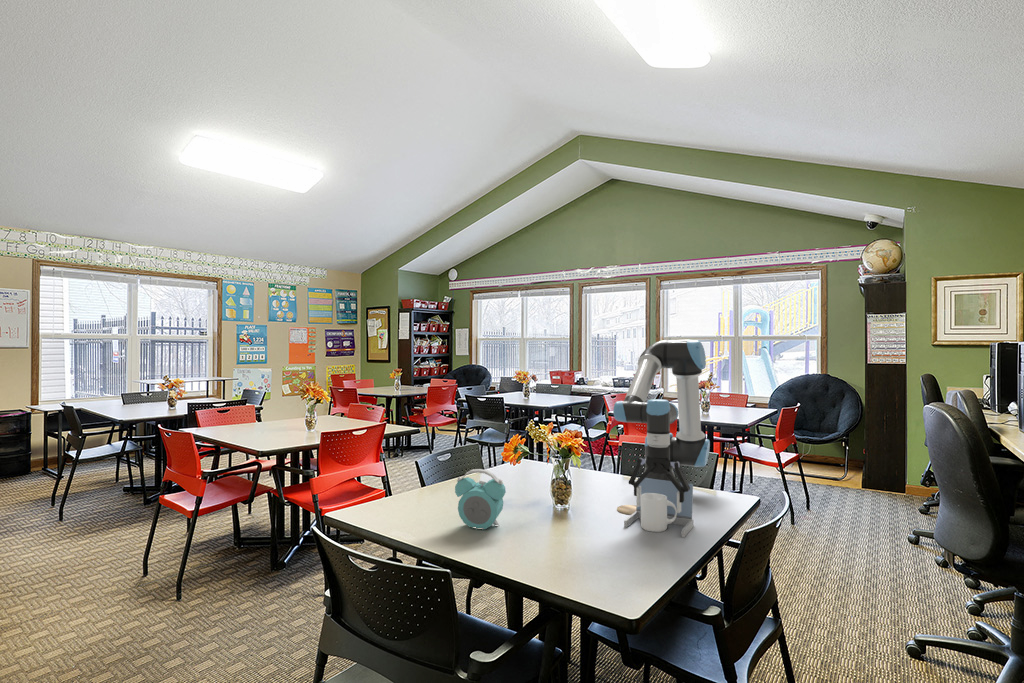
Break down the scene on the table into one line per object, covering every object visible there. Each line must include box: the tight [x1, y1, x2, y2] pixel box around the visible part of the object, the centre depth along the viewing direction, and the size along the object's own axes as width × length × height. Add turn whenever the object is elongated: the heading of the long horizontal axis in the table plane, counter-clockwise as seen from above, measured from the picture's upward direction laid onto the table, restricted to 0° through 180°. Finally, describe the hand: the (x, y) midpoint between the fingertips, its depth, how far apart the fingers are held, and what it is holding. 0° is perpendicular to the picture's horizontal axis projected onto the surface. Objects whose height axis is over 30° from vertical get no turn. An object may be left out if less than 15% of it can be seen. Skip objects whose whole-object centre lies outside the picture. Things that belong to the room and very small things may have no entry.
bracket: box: [623, 511, 694, 538], centre depth 186 cm, size 13×20×2 cm, turn 59°
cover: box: [636, 476, 694, 520], centre depth 192 cm, size 12×19×1 cm
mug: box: [640, 493, 677, 533], centre depth 184 cm, size 9×12×11 cm
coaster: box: [616, 504, 637, 516], centre depth 204 cm, size 11×11×1 cm
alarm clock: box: [454, 468, 507, 530], centre depth 187 cm, size 17×10×20 cm, turn 74°
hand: (658, 508), depth 184 cm, fingers open, 13 cm apart
